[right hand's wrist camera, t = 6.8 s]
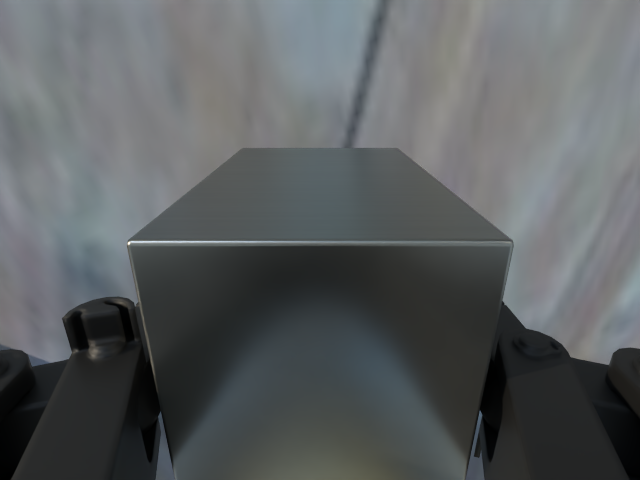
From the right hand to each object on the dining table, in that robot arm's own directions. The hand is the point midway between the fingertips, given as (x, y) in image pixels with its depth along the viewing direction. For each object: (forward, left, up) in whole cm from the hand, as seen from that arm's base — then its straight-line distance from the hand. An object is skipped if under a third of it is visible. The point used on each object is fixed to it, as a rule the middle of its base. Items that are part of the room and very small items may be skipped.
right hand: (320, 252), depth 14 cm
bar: (+2, +9, -1) cm, 9 cm away
